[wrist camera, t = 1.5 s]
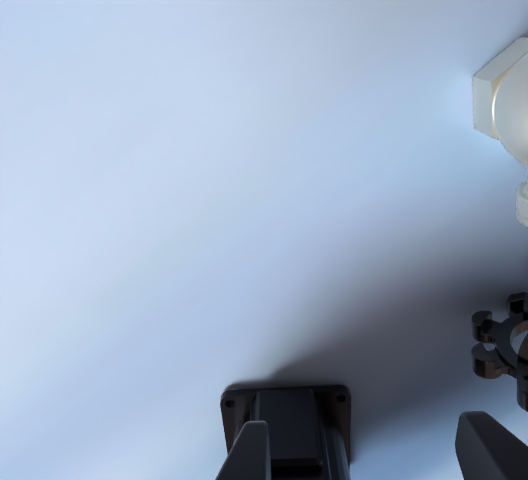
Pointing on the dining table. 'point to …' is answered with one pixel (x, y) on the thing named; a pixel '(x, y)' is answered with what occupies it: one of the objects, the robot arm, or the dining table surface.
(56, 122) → the dining table surface
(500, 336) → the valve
